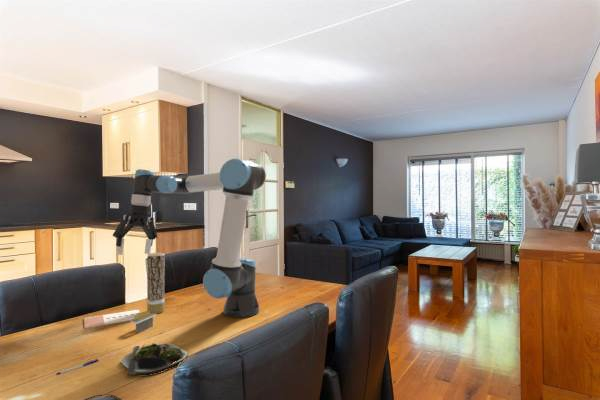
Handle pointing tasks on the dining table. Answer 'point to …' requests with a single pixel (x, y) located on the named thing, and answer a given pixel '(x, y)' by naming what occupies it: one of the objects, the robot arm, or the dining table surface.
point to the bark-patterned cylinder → (155, 282)
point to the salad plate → (153, 358)
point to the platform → (143, 321)
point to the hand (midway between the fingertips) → (133, 254)
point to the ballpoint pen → (78, 366)
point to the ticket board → (110, 318)
